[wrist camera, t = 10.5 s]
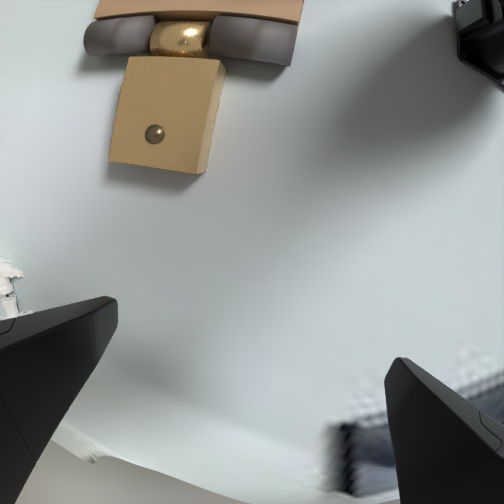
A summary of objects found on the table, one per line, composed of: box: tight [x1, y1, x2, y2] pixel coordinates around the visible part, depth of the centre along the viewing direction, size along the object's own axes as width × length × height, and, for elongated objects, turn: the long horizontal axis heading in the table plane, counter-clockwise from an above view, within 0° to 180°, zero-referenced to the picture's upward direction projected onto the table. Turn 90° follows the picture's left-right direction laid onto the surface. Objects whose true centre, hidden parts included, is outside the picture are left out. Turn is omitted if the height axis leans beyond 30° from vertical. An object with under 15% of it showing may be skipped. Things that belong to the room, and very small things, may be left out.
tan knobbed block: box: [109, 21, 227, 174], centre depth 16 cm, size 10×6×3 cm, turn 168°
